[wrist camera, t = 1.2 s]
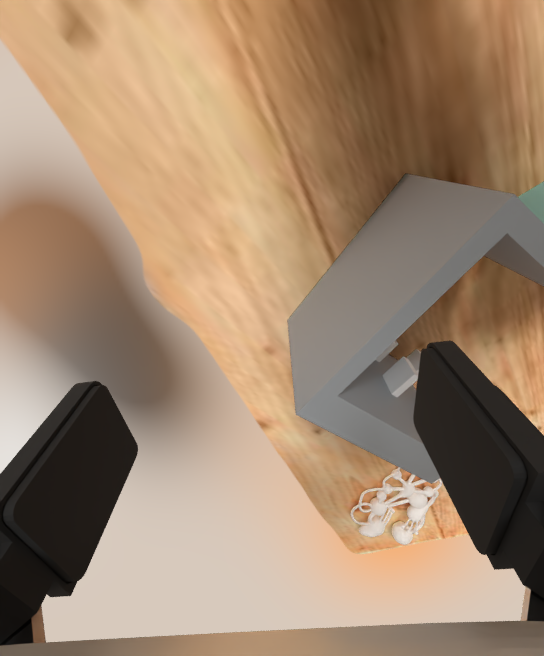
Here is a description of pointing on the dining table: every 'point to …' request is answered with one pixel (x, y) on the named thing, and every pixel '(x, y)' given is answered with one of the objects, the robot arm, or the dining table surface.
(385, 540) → the dining table surface
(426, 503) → the tangled rod sculpture
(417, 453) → the cabinet
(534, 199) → the cabinet door
